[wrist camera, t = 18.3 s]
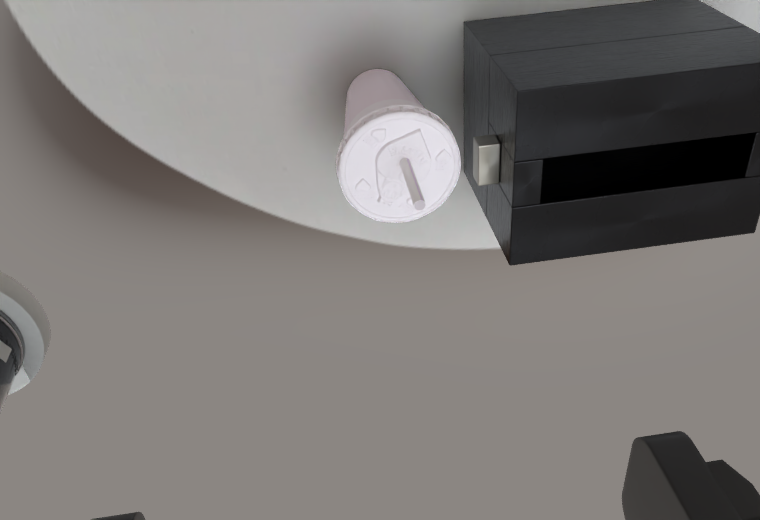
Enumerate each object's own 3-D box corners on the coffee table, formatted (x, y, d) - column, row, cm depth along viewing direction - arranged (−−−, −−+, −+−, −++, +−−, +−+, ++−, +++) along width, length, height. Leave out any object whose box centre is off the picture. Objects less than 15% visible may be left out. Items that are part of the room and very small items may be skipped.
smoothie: (444, 68, 43) (508, 177, 32) (402, 158, 46) (446, 286, 35) (347, 30, 41) (377, 132, 30) (309, 127, 44) (324, 252, 33)
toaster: (446, 174, 47) (487, 269, 38) (443, 23, 42) (492, 94, 33) (665, 146, 48) (755, 233, 39) (692, -4, 43) (805, 57, 34)
